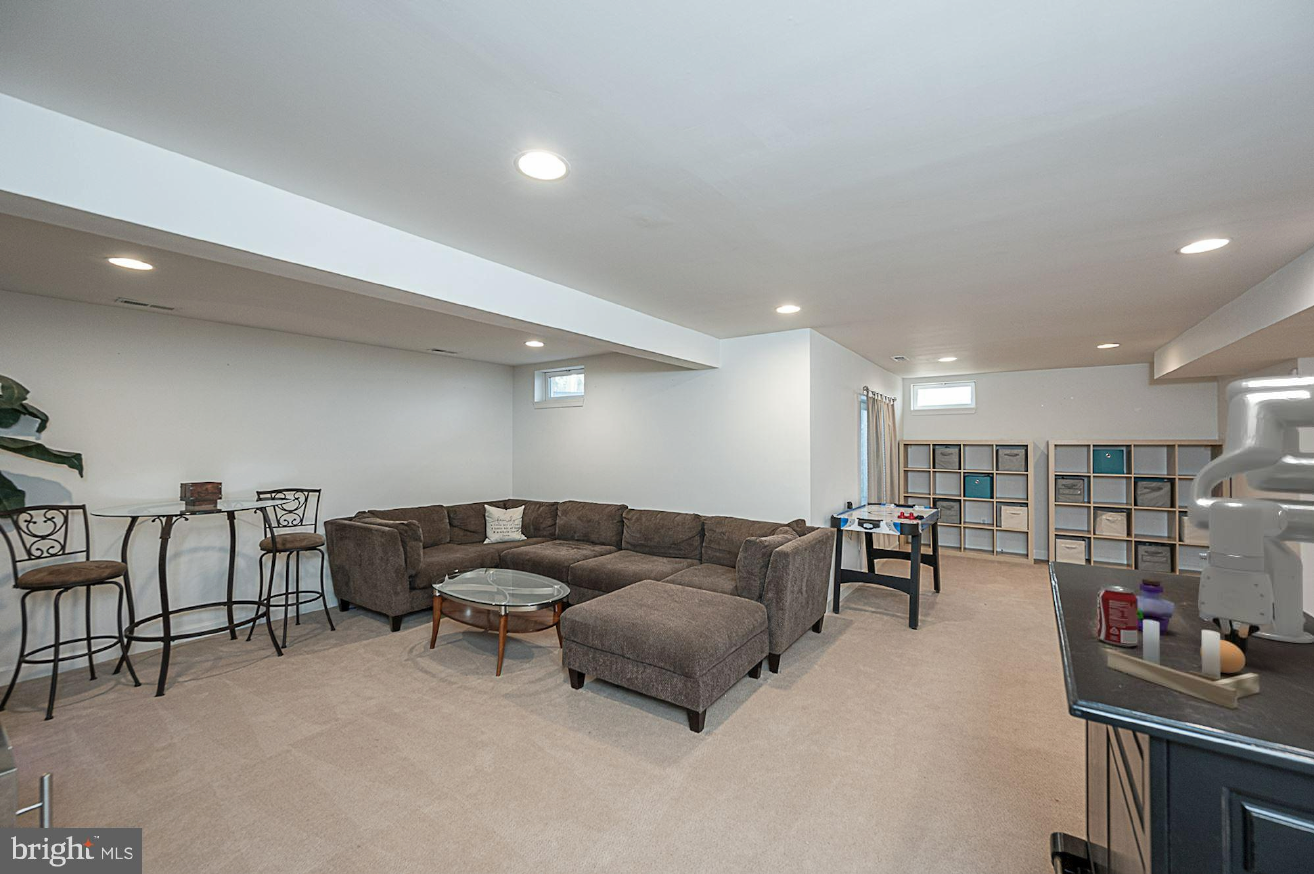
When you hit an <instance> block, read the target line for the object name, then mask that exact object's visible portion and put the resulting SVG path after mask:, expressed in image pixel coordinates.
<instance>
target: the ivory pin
mask: <svg viewBox="0 0 1314 874" xmlns="http://www.w3.org/2000/svg"><path fill="white" fill-rule="evenodd" d="M1220 640H1221V633H1220V632H1218V631H1215V630H1209V629H1201V646H1202V658H1201V673H1202V674H1206V675H1210V676H1214V677H1217V678H1221V672H1220Z"/></svg>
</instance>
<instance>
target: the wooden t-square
mask: <svg viewBox="0 0 1314 874" xmlns="http://www.w3.org/2000/svg"><path fill="white" fill-rule="evenodd" d="M1107 667H1108V668H1109V667H1110V668H1109V669H1112V670H1115V669H1116V671H1118V670H1119V672H1121V671H1122V672H1121V673H1124V674H1127V673H1128V674H1127V675H1130V676H1133V677H1136V678H1139V679H1142V680H1145V681H1148V682H1151V683H1154V684H1157V685H1160V686H1162V687H1166V688H1168V689H1171V690H1174V691H1177V692H1181V693H1184V694H1186V695H1189V696H1192V697H1195V698H1198V699H1201V700H1204V701H1207V702H1209V703H1213V704H1216V705H1219V706H1222V707H1225V708H1227V709H1231V710H1234V709H1238V699H1239V698H1243V697H1246V696H1250V695H1254V694H1258V693H1260V675H1259V674H1257V673H1253V672H1249V673H1244V674H1240V675H1236V676H1231V677H1228V678H1221V677H1220V678H1217V677H1214V676H1210V675H1206V674H1202V672H1198V671H1194V670H1188V671H1187V673H1186V672H1183V671H1179V670H1176V669H1172V668H1170V667H1167V666H1164V665H1157V664H1154V663H1151V662H1148V661H1144V660H1143V659H1141V658H1137V657H1134V656H1131V655H1128V654H1124V653H1122V652H1118V651H1115V650H1109V651H1107Z"/></svg>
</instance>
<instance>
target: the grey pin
mask: <svg viewBox="0 0 1314 874" xmlns="http://www.w3.org/2000/svg"><path fill="white" fill-rule="evenodd" d="M1160 649H1161V648H1160V634H1159V622H1157V621H1153V620H1143V631H1142V660H1144V661H1148V662H1151V663H1154V664H1157V665H1160V658H1161V656H1160V655H1161V653H1160V652H1161V650H1160ZM1160 666H1161V665H1160Z"/></svg>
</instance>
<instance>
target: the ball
mask: <svg viewBox="0 0 1314 874" xmlns="http://www.w3.org/2000/svg"><path fill="white" fill-rule="evenodd" d="M1199 650H1200V651H1199V654H1200V657H1201V659H1202V645H1201V647H1200V649H1199ZM1245 664H1246V656H1245V654H1243V652H1242V651H1241V650H1240V649H1239V648H1238V647H1237V646H1235V645H1234V644H1232V643H1230V642H1228V641H1225V639H1224V640H1223V639H1220V673H1223V674H1235V673H1238V672H1239V671H1241V670H1242V669H1243V668H1244V666H1245Z"/></svg>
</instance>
